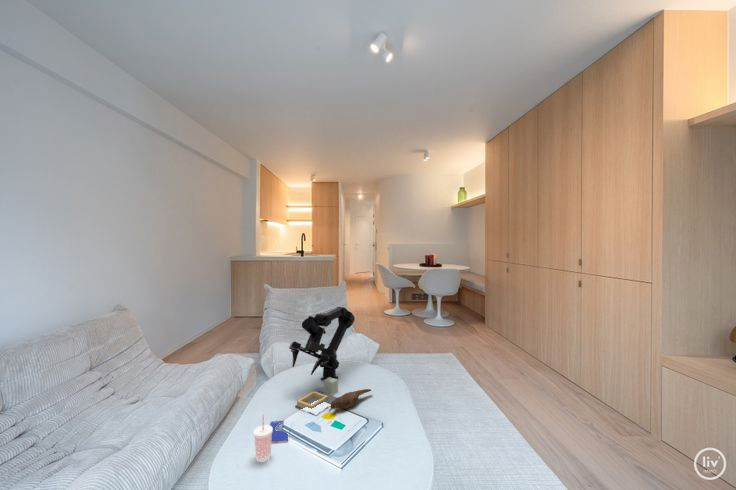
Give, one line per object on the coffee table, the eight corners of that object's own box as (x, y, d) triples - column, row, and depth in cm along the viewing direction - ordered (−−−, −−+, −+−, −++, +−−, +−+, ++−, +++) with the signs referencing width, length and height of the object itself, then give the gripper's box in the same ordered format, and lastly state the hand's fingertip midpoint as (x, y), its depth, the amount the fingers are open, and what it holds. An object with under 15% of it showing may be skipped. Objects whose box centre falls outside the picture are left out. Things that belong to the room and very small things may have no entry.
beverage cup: (266, 448, 109) (265, 408, 109) (276, 456, 105) (276, 414, 105) (249, 458, 105) (249, 415, 104) (260, 466, 101) (259, 422, 101)
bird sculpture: (375, 397, 145) (375, 386, 145) (333, 419, 127) (333, 407, 127) (364, 392, 150) (364, 382, 149) (323, 413, 131) (323, 401, 131)
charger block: (329, 389, 153) (329, 377, 153) (337, 392, 150) (337, 379, 150) (324, 392, 150) (323, 380, 150) (332, 395, 147) (332, 382, 147)
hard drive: (270, 421, 124) (264, 441, 112) (292, 419, 125) (287, 439, 113) (270, 425, 124) (264, 445, 112) (292, 423, 125) (287, 443, 113)
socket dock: (318, 393, 149) (318, 387, 149) (339, 400, 142) (339, 393, 142) (295, 407, 136) (295, 400, 136) (316, 415, 130) (316, 408, 130)
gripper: (301, 326, 145) (287, 360, 136) (337, 342, 148) (326, 376, 140) (295, 332, 154) (281, 364, 145) (330, 347, 157) (318, 379, 148)
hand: (302, 370), depth 144 cm, fingers open, 9 cm apart
